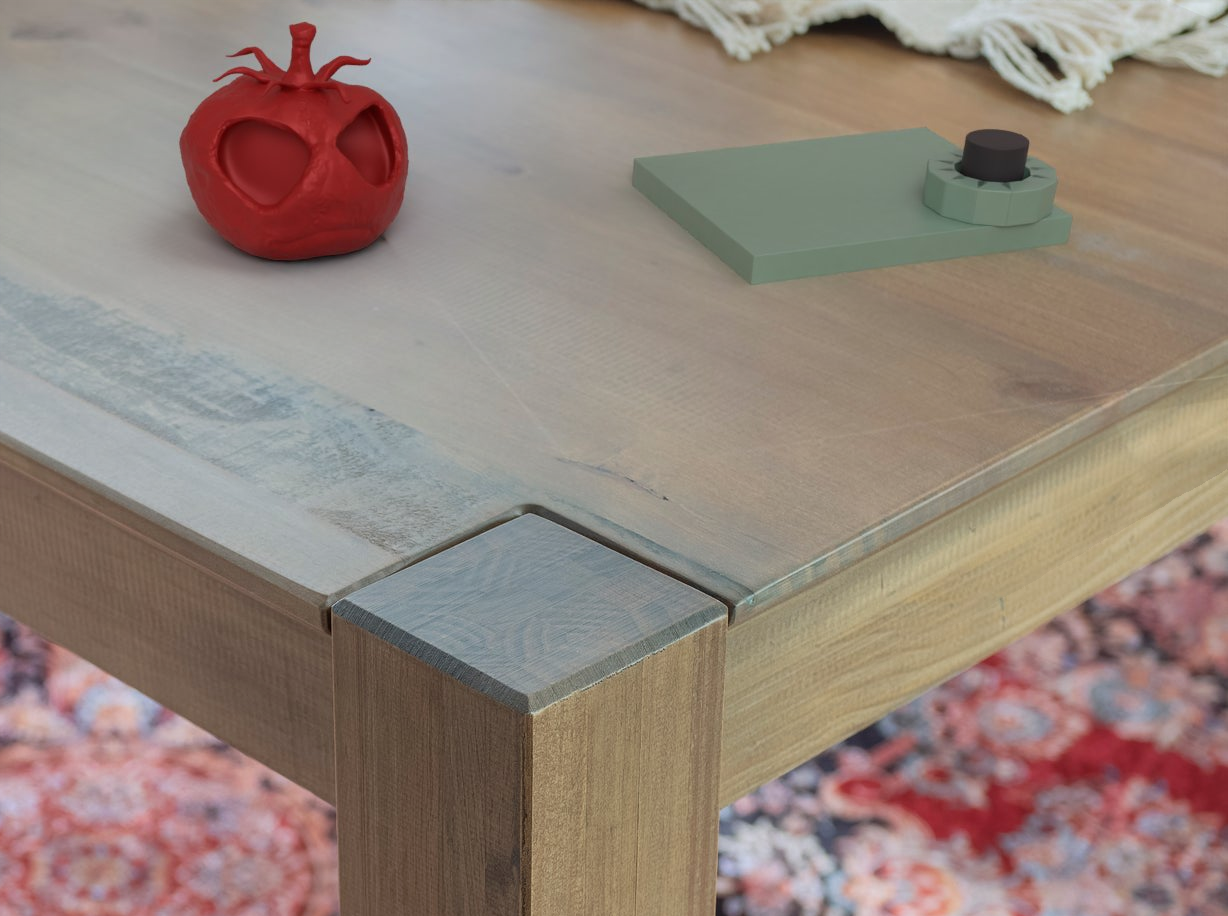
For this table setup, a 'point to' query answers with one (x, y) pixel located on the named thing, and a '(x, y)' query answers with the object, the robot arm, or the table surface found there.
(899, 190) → the scale
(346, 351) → the table surface
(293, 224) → the tomato with eye holes
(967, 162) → the button
